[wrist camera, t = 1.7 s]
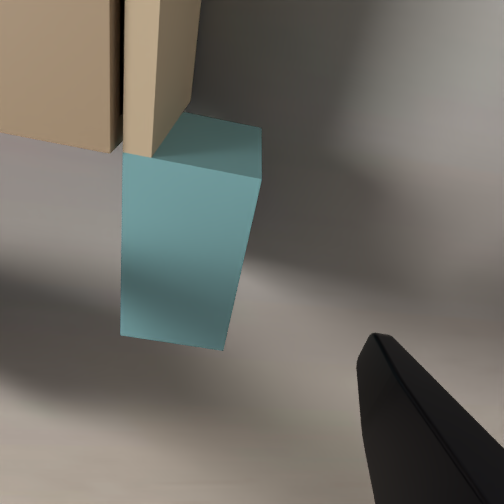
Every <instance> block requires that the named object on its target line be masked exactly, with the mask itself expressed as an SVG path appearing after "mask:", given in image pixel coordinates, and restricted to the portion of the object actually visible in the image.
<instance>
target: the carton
mask: <svg viewBox="0 0 504 504" xmlns="http://www.w3.org/2000/svg"><path fill="white" fill-rule="evenodd" d="M124 29H125V0H0V132H1V133H6V134H11V135H16V136H21V137H27V138H32V139H37V140H42V141H47V142H52V143H58V144H63V145H68V146H73V147H78V148H84V149H89V150H94V151H99V152H104V153H111V152H112V151H113V150H114V149H115V148H116V147H117V146H118V145H119V144H120V143H121V142H122V141H123V101H124Z"/></svg>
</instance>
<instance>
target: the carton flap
mask: <svg viewBox="0 0 504 504" xmlns="http://www.w3.org/2000/svg"><path fill="white" fill-rule="evenodd" d="M200 7H201V0H125V29H124V101H123V173H122V245H121V317H120V335H121V336H128V337H135V338H141V339H148V340H155V341H161V342H168V343H174V344H181V345H188V346H194V347H201V348H207V349H214V350H221V351H223V349H224V345H225V340H226V336H227V332H228V327H229V323H230V318H231V314H232V309H233V305H234V300H235V296H236V292H237V287H238V283H239V278H240V274H241V269H242V265H243V261H244V256H245V252H246V247H247V243H248V238H249V234H250V230H251V225H252V221H253V216H254V212H255V207H256V203H257V199H258V194H259V190H260V185H261V181H262V128H259V127H254V126H249V125H244V124H240V123H235V122H230V121H225V120H220V119H215V118H210V117H206V116H201V115H196V114H191V113H186V112H183V111H184V110H185V108H186V107H187V105H188V104H189V102H190V101H191V93H192V83H193V74H194V64H195V55H196V45H197V35H198V26H199V16H200Z"/></svg>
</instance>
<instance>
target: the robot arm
mask: <svg viewBox="0 0 504 504" xmlns="http://www.w3.org/2000/svg"><path fill="white" fill-rule="evenodd" d="M356 369H357V381H358V393H359V404H360V416H361V427H362V436H363V442H364V448H365V453H366V458H367V463H368V468H369V473H370V478H371V484H372V489H373V494H374V499H375V504H504V448H503V447H502V446H501V445H500V444H499V443H498V442H497V441H496V440H495V439H494V438H493V437H492V436H491V435H490V434H489V433H488V432H487V431H486V430H485V429H484V428H483V427H482V426H481V425H480V424H479V423H478V422H477V421H476V420H475V419H474V418H473V417H472V416H471V415H470V414H469V413H468V412H467V411H466V410H465V409H464V408H463V407H462V406H461V405H460V404H459V403H458V402H457V401H456V400H455V399H454V398H453V397H452V396H451V395H450V394H449V393H448V392H447V391H446V390H445V389H444V388H443V387H442V386H441V385H440V384H439V383H438V382H437V381H436V380H435V379H434V378H433V377H432V376H431V375H430V374H429V373H428V372H427V371H426V370H425V369H424V368H423V367H422V366H421V365H420V364H419V363H418V362H417V361H416V360H415V359H414V358H413V357H412V356H411V355H410V354H409V353H408V352H407V351H406V350H405V349H404V348H403V347H402V346H401V345H400V344H399V343H398V342H397V341H396V340H395V339H394V338H393V337H392V336H390V335H386V334H380V333H372V334H371V335H370V336H369V337H368V339H367V341H366V343H365V345H364V347H363V349H362V351H361V353H360V355H359V357H358V360H357V366H356Z"/></svg>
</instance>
